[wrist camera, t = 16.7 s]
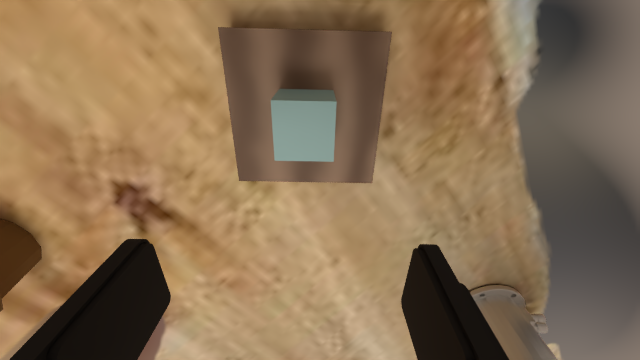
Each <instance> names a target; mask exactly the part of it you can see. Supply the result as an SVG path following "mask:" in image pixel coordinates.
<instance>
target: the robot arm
mask: <svg viewBox="0 0 640 360" xmlns="http://www.w3.org/2000/svg"><path fill="white" fill-rule="evenodd" d="M170 298H171V295H170V292H169V289H168V286H167V283H166V280H165V277H164V275H163V272H162V269H161V266H160V263H159V260H158V257H157V254H156V252H155V249H154V246H153V244H150V243H149V241H148V240H147V239H127V240H126V241H124V242H123V243H122V244H121V245H120V246H119V247H118V248H117V249H116V250H115V251H114V253H113V254H112V255H111V256H110V257H109V258H108V259H107V260H106V261H105V262H104V263H103V264H102V265H101V266H100V267H99V268H98V269H97V270H96V271H95V272H94V273H93V274H92V275H91V276H90V277H89V278H88V279H87V280H86V281H85V282H84V283H83V284H82V285H81V286H80V287H79V288H78V290H77V291H76V292H75V293H74V294H73V295H72V296H71V297H70V298H69V299H68V300H67V301H66V302H65V303H64V304H63V305H62V306H61V307H60V308H59V309H58V310H57V311H56V312H55V313H54V314H53V315H52V316H51V317H50V318H49V319H48V320H47V321H46V323H44V324H43V326H42V327H41V328H40V329H39V330H38V331H37V332H36V333H35V334H34V335H33V336H32V337H31V338H30V339H29V340H28V341H27V342H26V343H25V344H24V345H23V346H22V347H21V348H20V349H19V350H18V351H17V352H16V353H15V354H14V355H13V357H11V358H10V360H137V359H138V357H139V356H140V354H141V352H142V350H143V349H144V347H145V345H146V343H147V342H148V340H149V338H150V337H151V335H152V333H153V331H154V330H155V328H156V326H157V324H158V323H159V321H160V319H161V317H162V316H163V314H164V312H165V310H166V309H167V307H168V305H169V303H170ZM401 303H402V309H403V313H404V316H405V319H406V323H407V326H408V329H409V332H410V336H411V339H412V342H413V346H414V349H415V352H416V356H417V359H418V360H558V359H557V358H556V357H555V355H554V354H553V353H552V351H551V350H550V349H549V347H548V346H547V345H546V343H545V342H544V341H543V339H542V338H541V337H540V335H539V334H538V333H547V332H548V327H547V325H546V323H545V322H546V317H545V316H544V315H543V314H530V313H529V312H528V311H527V310H526V308H525V305H526V303H525V300H524V298H523V297H522V295H521V294H520V293H519V292H518V291H517V290H515V289H514V288H511V287H508V286H503V285H490V286H484V287H480V288H477V289H475V290H472V291H470V292H469V290H468V289H467V288H466V286H465V285H463V284H461V283H459V282H458V280H457V278H456V276H455V274H454V273H453V271H452V269H451V267H450V266H449V264H448V262H447V260H446V259H445V257H444V255H443V253H442V252H441V250H440V248H439V247H438V246H437V245H429V244H420V245H419V246H418V248H415V249H414V250H413V253H412V258H411V262H410V266H409V270H408V274H407V278H406V282H405V286H404V290H403V295H402V299H401Z"/></svg>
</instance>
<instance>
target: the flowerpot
mask: <svg viewBox="0 0 640 360" xmlns="http://www.w3.org/2000/svg"><path fill="white" fill-rule="evenodd" d="M41 258H42V257H41V246H40V245H39V244H38V243H37V241H36V240H35V239H34V238H33V236H32V235H31V234H30V233H28V232H27V231H25V230H24V229H22V228H21V227H19V226H17V225H16V224H14V223H13V222H9V221H6V220H2V219H0V311H2V310H3V305H2V298H3V297H4V296H5V295H6V294H7V293H8V292H9V291H10V290H11V289H12V288H13V287H14V286H15V285H16V284H17V283H18V282H19V281H20V280H21V279H22V278H23V277H24V276H25V275H26V274H27V273H28V272H29V271H30V270H31V269H32V268H33V267H34V266H35V265H36V264H37V262H38V261H39V260H40V259H41Z"/></svg>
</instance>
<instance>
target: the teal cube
mask: <svg viewBox="0 0 640 360" xmlns="http://www.w3.org/2000/svg"><path fill="white" fill-rule="evenodd" d="M336 104H337V101H336V98H335V94H334V90H308V89H279V90H278V91H277V92H276V94H275V95H274V96H273V98H272V99H271V114H272V129H273V144H274V160H275V161H320V162H334V145H335V124H336Z"/></svg>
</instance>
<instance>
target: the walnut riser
mask: <svg viewBox="0 0 640 360" xmlns="http://www.w3.org/2000/svg"><path fill="white" fill-rule="evenodd" d="M218 30H219V37H220V45H221V52H222V59H223V66H224V74H225V81H226V88H227V96H228V103H229V110H230V117H231V125H232V132H233V139H234V147H235V154H236V161H237V168H238V176H239V181H281V182H338V183H372V180H373V172H374V164H375V157H376V149H377V141H378V134H379V126H380V119H381V111H382V103H383V96H384V88H385V80H386V73H387V65H388V57H389V50H390V42H391V34H392V32H379V31H341V30H302V29H263V28H225V27H218ZM279 89H308V90H334V94H335V98H336V101H337V104H336V124H335V145H334V162H320V161H275V160H274V144H273V129H272V114H271V99H272V98H273V96H274V95H275V94H276V92H277V91H278V90H279Z"/></svg>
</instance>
